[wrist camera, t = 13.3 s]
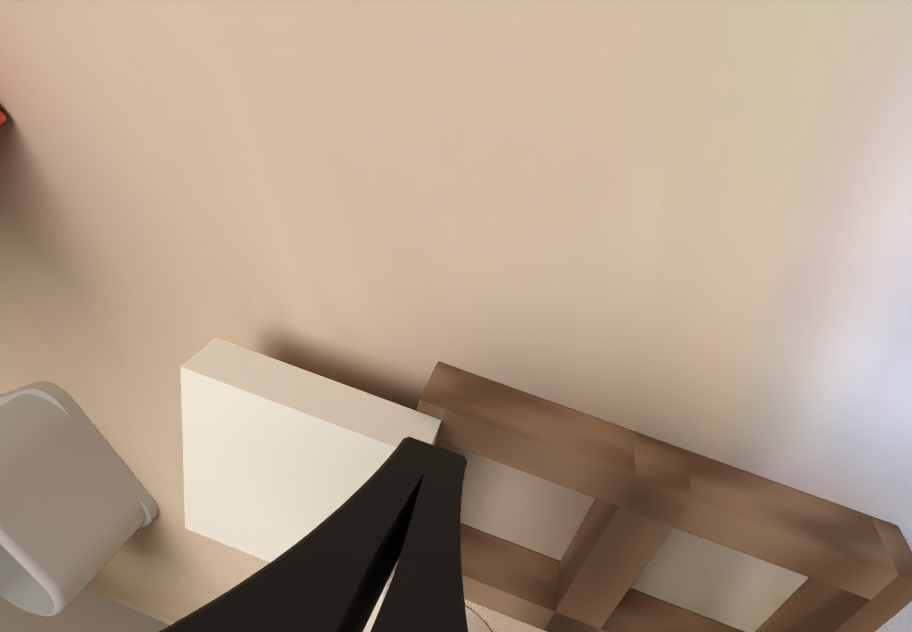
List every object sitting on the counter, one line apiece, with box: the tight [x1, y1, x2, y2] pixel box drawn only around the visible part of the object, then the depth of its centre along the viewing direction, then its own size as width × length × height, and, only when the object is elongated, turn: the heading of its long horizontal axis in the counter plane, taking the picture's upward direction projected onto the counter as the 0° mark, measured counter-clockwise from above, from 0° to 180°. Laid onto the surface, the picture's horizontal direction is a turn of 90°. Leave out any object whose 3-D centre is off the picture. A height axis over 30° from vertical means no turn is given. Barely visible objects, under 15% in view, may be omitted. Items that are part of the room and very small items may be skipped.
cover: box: [181, 337, 441, 606], centre depth 22 cm, size 9×9×2 cm
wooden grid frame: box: [395, 362, 912, 632], centre depth 23 cm, size 18×10×2 cm, turn 76°
